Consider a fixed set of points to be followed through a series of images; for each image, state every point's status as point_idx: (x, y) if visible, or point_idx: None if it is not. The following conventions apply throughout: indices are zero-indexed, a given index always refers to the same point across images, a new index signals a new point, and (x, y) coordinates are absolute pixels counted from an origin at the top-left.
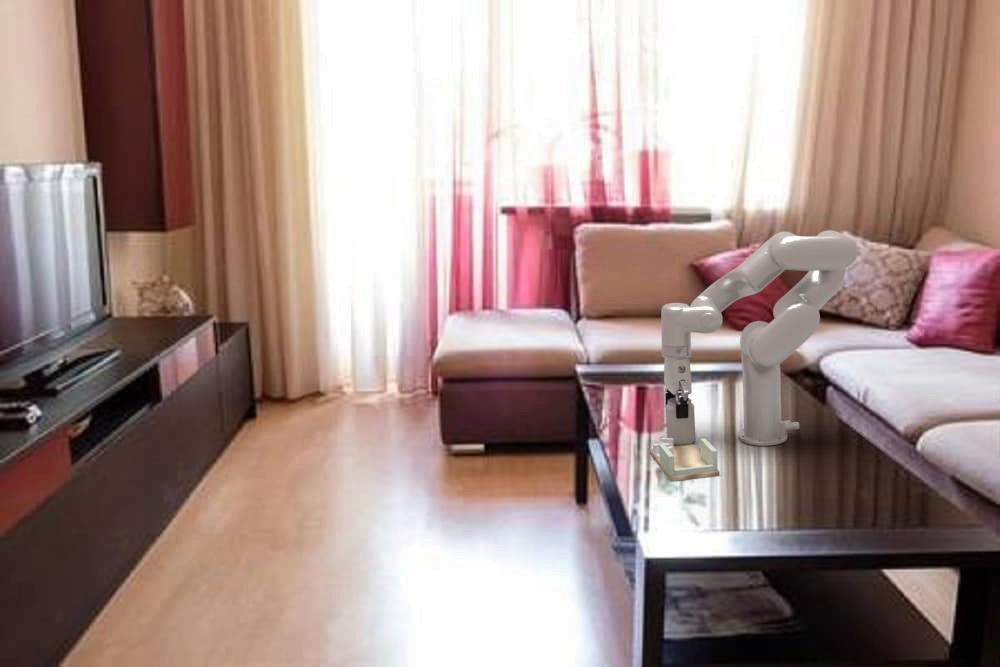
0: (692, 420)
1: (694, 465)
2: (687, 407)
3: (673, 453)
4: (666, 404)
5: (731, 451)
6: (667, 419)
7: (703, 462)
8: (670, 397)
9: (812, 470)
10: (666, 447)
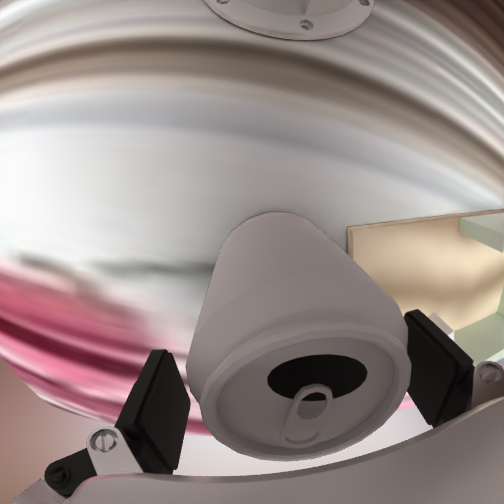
0: (353, 260)
1: (486, 262)
2: (453, 348)
3: (442, 320)
4: (186, 414)
5: (403, 106)
6: (307, 385)
7: None
8: (172, 434)
9: (491, 19)
10: (492, 356)
